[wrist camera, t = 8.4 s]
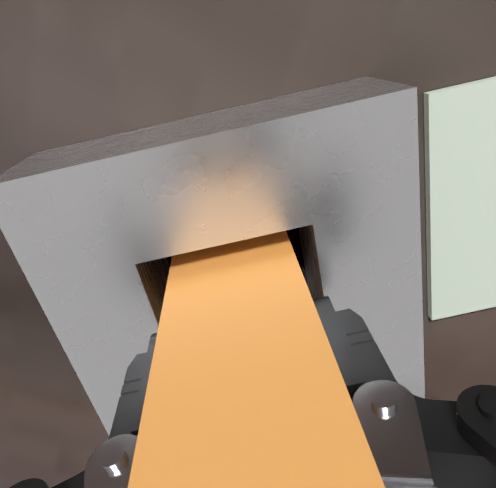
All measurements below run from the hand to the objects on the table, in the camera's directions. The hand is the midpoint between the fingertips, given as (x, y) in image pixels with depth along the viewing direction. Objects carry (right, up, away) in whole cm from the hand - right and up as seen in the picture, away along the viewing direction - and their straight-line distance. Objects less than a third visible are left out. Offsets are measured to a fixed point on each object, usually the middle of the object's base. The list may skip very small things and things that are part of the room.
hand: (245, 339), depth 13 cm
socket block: (0, +2, +5) cm, 5 cm away
